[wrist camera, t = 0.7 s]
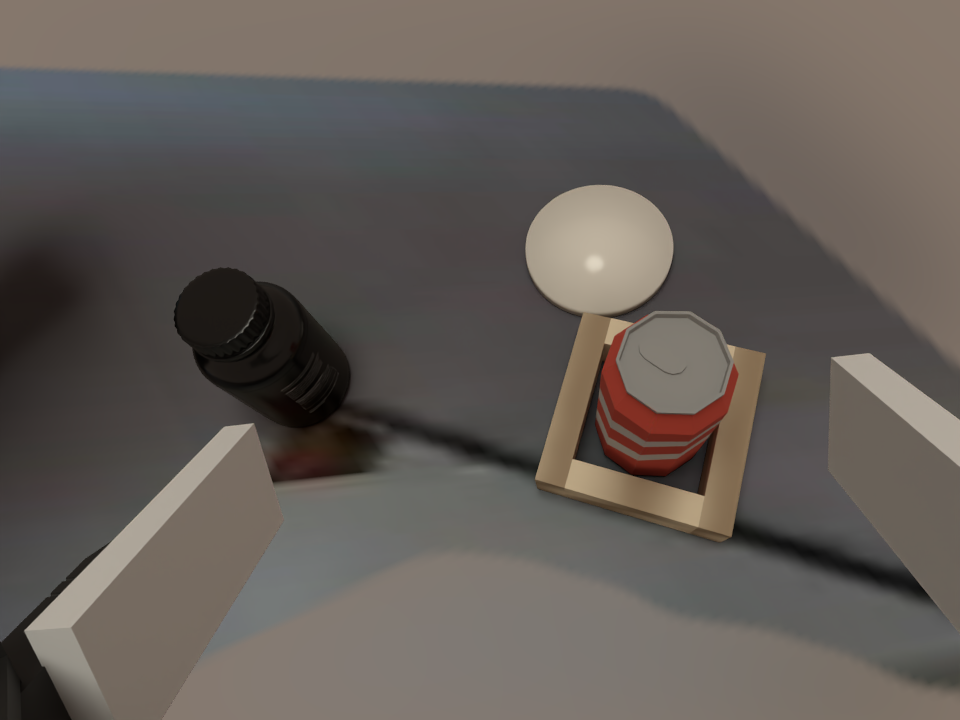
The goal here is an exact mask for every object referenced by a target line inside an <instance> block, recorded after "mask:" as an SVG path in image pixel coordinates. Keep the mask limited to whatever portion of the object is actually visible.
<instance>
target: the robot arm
mask: <svg viewBox="0 0 960 720" xmlns="http://www.w3.org/2000/svg"><path fill="white" fill-rule="evenodd" d="M828 470H829V472H830V473H831V474H832V475H833V477H834V478H835V479H836V480H837V481H838V483H839V484H840V485H841V486H842V488H843V489H844V490H845V491H846V493H847V494H848V495H849V496H850V498H851V499H852V500H853V501H854V503H855V504H856V505H857V506H858V508H859V509H860V510H861V511H862V513H863V514H864V515H865V516H866V518H867V519H868V520H869V521H870V523H871V524H872V525H873V526H874V527H875V529H876V530H877V531H878V532H879V534H880V535H881V536H882V537H883V539H884V540H885V541H886V542H887V544H888V545H889V546H890V547H891V549H892V550H893V551H894V552H895V554H896V555H897V556H898V557H899V559H900V560H901V561H902V562H903V564H904V565H905V566H906V567H907V569H908V570H909V571H910V572H911V573H912V575H913V576H914V577H915V578H916V580H917V581H918V582H919V583H920V585H921V586H922V587H923V588H924V590H925V591H926V592H927V593H928V595H929V596H930V597H931V598H932V600H933V601H934V602H935V603H936V605H937V606H938V607H939V608H940V610H941V611H942V612H943V613H944V615H945V616H946V617H947V618H948V620H949V621H950V622H951V623H952V624H953V626H954V627H955V628H956V629H957V631H958V632H959V633H960V420H959V419H958V418H956V417H955V416H953V415H952V414H951V413H949V412H948V411H947V410H945V409H944V408H943V407H941V406H940V405H939V404H937V403H936V402H935V401H933V400H932V399H930V398H929V397H928V396H926V395H925V394H924V393H922V392H921V391H920V390H918V389H917V388H916V387H914V386H913V385H912V384H910V383H909V382H907V381H906V380H905V379H903V378H902V377H901V376H899V375H898V374H897V373H895V372H894V371H893V370H891V369H890V368H889V367H887V366H886V365H884V364H883V363H882V362H880V361H879V360H878V359H876V358H875V357H874V356H872V355H871V354H870V353H867V354H858V355H849V356H840V357H832V358H831V379H830V416H829V453H828ZM283 521H284V518H283V515H282V512H281V509H280V506H279V502H278V499H277V496H276V493H275V489H274V486H273V483H272V480H271V476H270V473H269V470H268V467H267V464H266V460H265V457H264V454H263V451H262V447H261V444H260V441H259V438H258V435H257V431H256V428H255V425H254V423H253V424H244V425H235V426H226V427H223V429H222V430H221V431H220V432H219V433H218V434H217V435H216V436H215V437H214V438H213V439H212V440H211V441H210V442H209V443H208V444H207V445H206V446H205V447H204V448H203V449H202V450H201V451H200V452H199V453H198V454H197V455H196V456H195V457H194V458H193V459H192V460H191V461H190V462H189V463H188V464H187V465H186V466H185V467H184V468H183V469H182V470H181V471H180V472H179V473H178V474H177V475H176V476H175V477H174V478H173V480H172V481H171V482H170V483H169V484H168V485H167V486H166V487H165V488H164V489H163V490H162V491H161V492H160V493H159V494H158V495H157V496H156V497H155V498H154V499H153V500H152V501H151V502H150V503H149V504H148V505H147V506H146V507H145V508H144V509H143V510H142V511H141V512H140V513H139V514H138V515H137V516H136V517H135V518H134V519H133V520H132V521H131V522H130V523H129V524H128V525H127V526H126V527H125V528H124V529H123V531H122V532H121V533H120V534H119V535H118V536H117V537H116V538H115V539H114V540H113V541H111V542H110V543H108V544H107V545H105V546H104V547H102V548H101V549H99V550H98V551H96V552H95V553H93V554H92V555H90V556H89V557H87V558H86V559H85V560H84V561H83V562H82V563H81V564H80V565H79V566H78V567H77V568H76V569H75V570H74V571H73V572H72V573H71V574H70V575H69V576H68V577H67V578H66V581H63V582H62V583H61V584H60V585H59V586H58V587H57V588H56V589H55V590H54V591H53V592H52V593H51V597H47V598H46V599H45V600H44V601H43V602H42V603H41V604H40V605H39V606H38V607H37V608H36V609H35V610H34V611H33V612H32V613H31V614H30V615H28V616H27V617H26V618H25V619H24V620H23V621H22V622H21V623H20V624H19V625H18V626H17V627H16V628H15V629H14V630H13V631H12V632H11V633H10V634H9V635H8V636H7V637H6V638H5V639H4V640H3V641H2V642H0V720H162V718H163V717H164V715H165V713H166V711H167V710H168V708H169V707H170V705H171V704H172V702H173V700H174V699H175V697H176V695H177V694H178V692H179V690H180V689H181V687H182V686H183V684H184V682H185V681H186V679H187V677H188V676H189V674H190V673H191V671H192V669H193V668H194V666H195V664H196V663H197V661H198V660H199V658H200V656H201V655H202V653H203V651H204V650H205V648H206V647H207V645H208V643H209V642H210V640H211V638H212V637H213V635H214V633H215V632H216V630H217V629H218V627H219V625H220V624H221V622H222V620H223V619H224V617H225V616H226V614H227V612H228V611H229V609H230V607H231V606H232V604H233V603H234V601H235V599H236V598H237V596H238V594H239V593H240V591H241V589H242V588H243V586H244V585H245V583H246V581H247V580H248V578H249V576H250V575H251V573H252V572H253V570H254V568H255V567H256V565H257V563H258V562H259V560H260V558H261V557H262V555H263V554H264V552H265V550H266V549H267V547H268V545H269V544H270V542H271V541H272V539H273V537H274V536H275V534H276V532H277V531H278V529H279V528H280V526H281V524H282V523H283Z"/></svg>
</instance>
